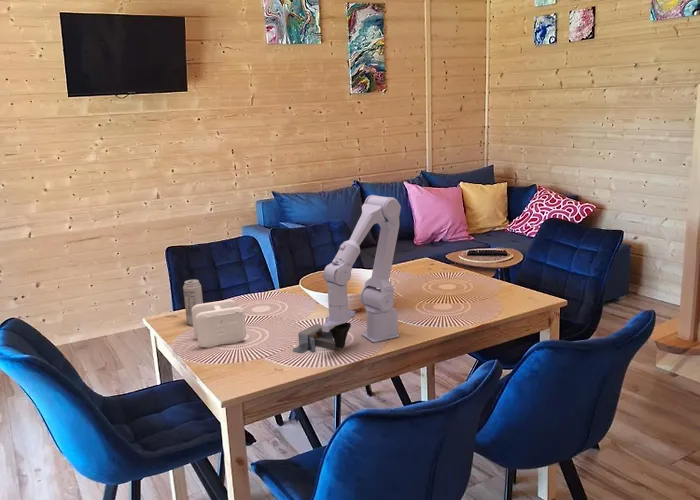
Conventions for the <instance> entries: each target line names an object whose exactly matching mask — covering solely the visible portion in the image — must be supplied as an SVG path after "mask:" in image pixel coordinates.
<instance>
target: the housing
mask: <svg viewBox="0 0 700 500" xmlns="http://www.w3.org/2000/svg"><path fill="white" fill-rule="evenodd" d="M322 325H323V324H320V323H314V324H313V325H311V326H309V327H307V328H305V329H304V330H301V331H299V332H298V333H297V334H298V346H296V347H294V348H292V352H294V353H300V354H303V353H305V352H307V351H310V352H311V353H316V345H315V339H314V338H313V337H312V336H311V335H313V334H315V333H317V337H320V338H324V339H329V340H333V341H334V338H333V336H332V334H331V332H330V331H329V332H323V331H322Z"/></svg>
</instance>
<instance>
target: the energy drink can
mask: <svg viewBox="0 0 700 500" xmlns="http://www.w3.org/2000/svg"><path fill="white" fill-rule="evenodd" d="M182 289H183V298H184V299H183V301H184V308H185V317H186V318H185V319H186V323H187V324H188V325H189V326H192V327H193V320H192V311H191V310H192V307H193V306H195V305H197V304H203V303H204V301H203V290H202V285H201V283H200V280H199V279H188V280H185V281H184V284H183V286H182Z"/></svg>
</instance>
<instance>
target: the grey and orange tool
mask: <svg viewBox="0 0 700 500" xmlns="http://www.w3.org/2000/svg"><path fill="white" fill-rule="evenodd" d="M311 336H312V337H313V338H314V339H315V347H320V348H323V349H324V348H325V349H329V350H332V351H336V350H338V349H339V348H337V347H336V344H335V341H333V340H334V339H333V340H329V339H324V338H320V337H317V333H315V334H313V335H311Z"/></svg>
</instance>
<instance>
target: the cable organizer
mask: <svg viewBox="0 0 700 500" xmlns="http://www.w3.org/2000/svg"><path fill="white" fill-rule="evenodd" d="M191 311H192V320H193V326H192V327H193V335H194V336H195V338H197V343H198V345H199V346H200V347H203V348H207V349H208V348H214V347H215V348H216V347H217V346H219V345H226V344H227V345H232V344H237V343H239V342H242V341H243V340H245V339H246V337H247V328H246V318H245V316H246V315H245V311H244V309H243V308H242V307H240V306H237V303H236V301H235V300H233V299H224V300H219V301H212V302H211V301H209V302H205V303H204V302H203V304H197V305H195V306H193V307H192V310H191Z"/></svg>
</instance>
